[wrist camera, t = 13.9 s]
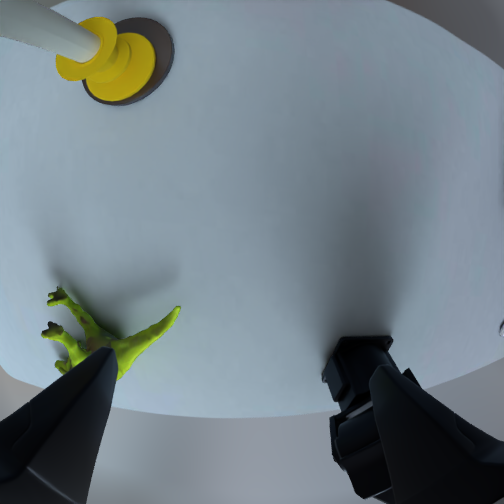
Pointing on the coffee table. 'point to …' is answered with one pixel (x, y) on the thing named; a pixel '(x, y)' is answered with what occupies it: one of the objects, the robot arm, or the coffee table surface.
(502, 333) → the pacifier
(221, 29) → the coffee table surface
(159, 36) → the coaster
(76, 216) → the coffee table surface
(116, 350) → the dinosaur figurine
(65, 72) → the candle
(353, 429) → the robot arm
